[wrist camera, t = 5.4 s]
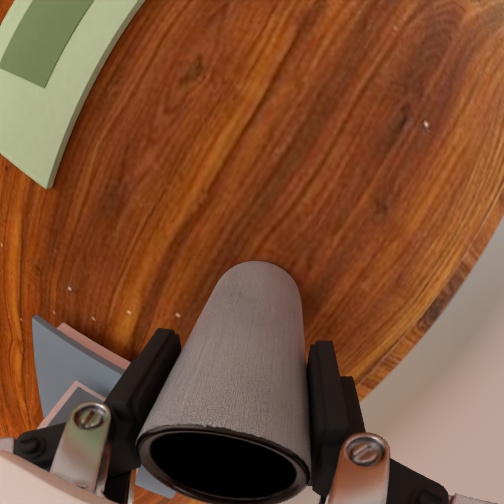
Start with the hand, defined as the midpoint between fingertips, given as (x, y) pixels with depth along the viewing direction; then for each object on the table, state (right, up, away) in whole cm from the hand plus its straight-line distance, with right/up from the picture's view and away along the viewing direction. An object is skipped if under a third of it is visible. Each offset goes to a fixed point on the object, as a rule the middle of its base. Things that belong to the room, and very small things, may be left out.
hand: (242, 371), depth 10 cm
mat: (-13, +19, +1) cm, 23 cm away
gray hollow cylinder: (+1, +2, +6) cm, 6 cm away
